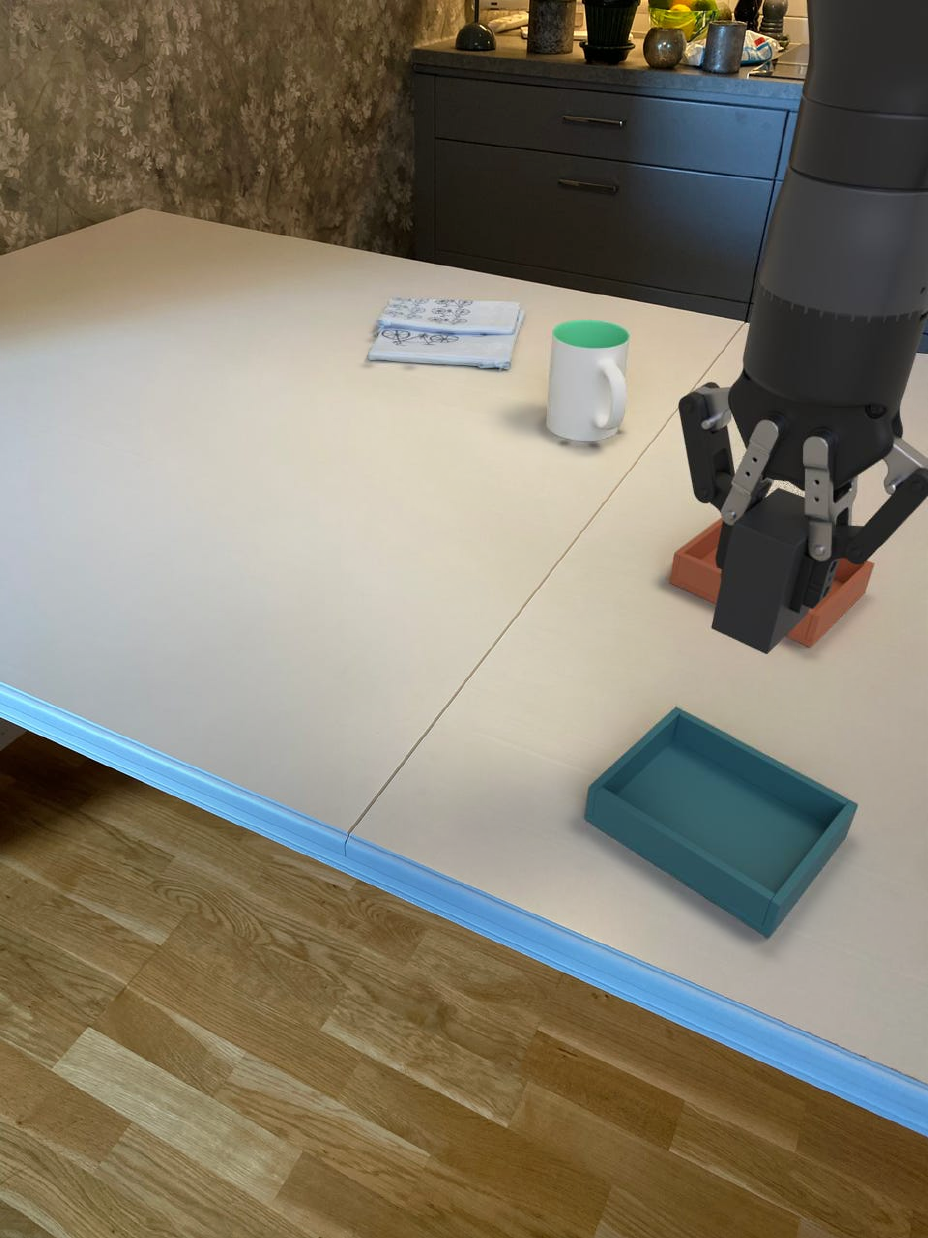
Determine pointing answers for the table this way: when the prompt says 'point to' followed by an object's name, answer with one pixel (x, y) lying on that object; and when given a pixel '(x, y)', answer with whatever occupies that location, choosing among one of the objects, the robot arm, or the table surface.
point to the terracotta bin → (849, 585)
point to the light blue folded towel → (448, 332)
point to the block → (763, 572)
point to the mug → (587, 380)
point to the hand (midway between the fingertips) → (768, 589)
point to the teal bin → (721, 817)
